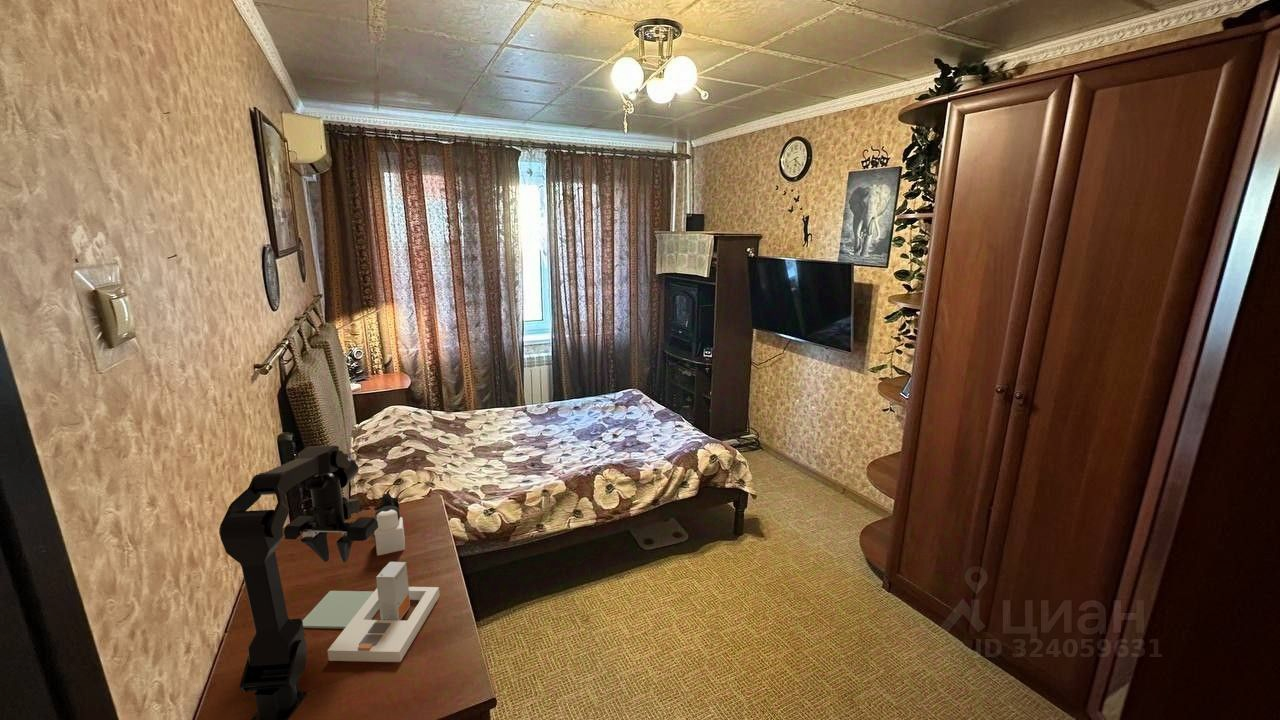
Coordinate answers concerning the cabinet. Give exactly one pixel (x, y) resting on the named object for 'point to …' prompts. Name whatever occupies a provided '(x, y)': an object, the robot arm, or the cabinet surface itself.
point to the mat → (336, 609)
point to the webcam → (388, 501)
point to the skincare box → (393, 591)
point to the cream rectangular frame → (382, 630)
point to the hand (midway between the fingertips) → (336, 561)
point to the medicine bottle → (389, 531)
